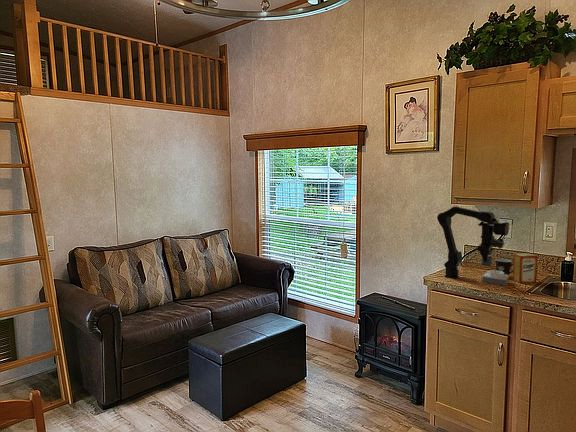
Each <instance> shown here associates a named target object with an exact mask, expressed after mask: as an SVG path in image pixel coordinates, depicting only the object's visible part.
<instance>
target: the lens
mask: <svg viewBox="0 0 576 432" xmlns="http://www.w3.org/2000/svg"><path fill="white" fill-rule="evenodd" d="M492 256H493V252H489V253H488V258H487V262H484V260H483V258H482V257H481V265H482V266H484V267H492V260H493V259H492V258H493V257H492Z"/></svg>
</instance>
